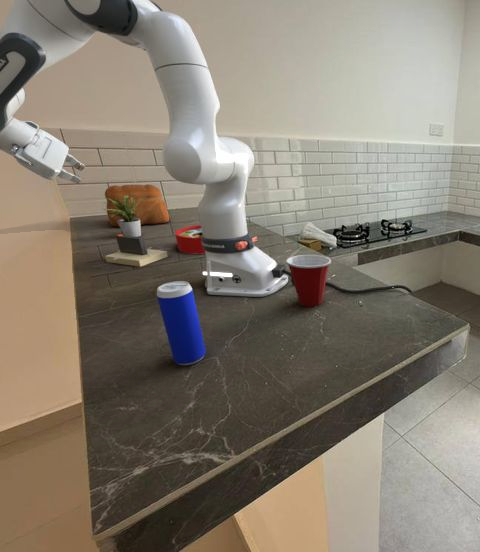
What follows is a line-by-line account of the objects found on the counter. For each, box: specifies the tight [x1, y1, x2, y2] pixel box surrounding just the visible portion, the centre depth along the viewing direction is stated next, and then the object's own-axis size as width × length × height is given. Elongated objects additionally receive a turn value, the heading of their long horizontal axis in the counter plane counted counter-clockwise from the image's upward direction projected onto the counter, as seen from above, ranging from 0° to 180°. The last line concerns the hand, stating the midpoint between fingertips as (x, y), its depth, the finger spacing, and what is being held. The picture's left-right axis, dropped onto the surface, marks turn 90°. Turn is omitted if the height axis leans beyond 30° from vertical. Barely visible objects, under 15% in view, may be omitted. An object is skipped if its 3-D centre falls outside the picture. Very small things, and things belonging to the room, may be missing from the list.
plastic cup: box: [286, 254, 332, 308], centre depth 82 cm, size 11×11×12 cm
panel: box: [104, 246, 169, 267], centre depth 106 cm, size 14×13×2 cm
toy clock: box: [174, 224, 206, 255], centre depth 122 cm, size 20×6×20 cm
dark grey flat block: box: [115, 233, 148, 255], centre depth 105 cm, size 9×2×6 cm, turn 78°
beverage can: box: [156, 280, 207, 366], centre depth 58 cm, size 5×5×15 cm
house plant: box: [102, 195, 146, 237], centre depth 127 cm, size 14×14×16 cm
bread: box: [104, 183, 170, 228], centre depth 145 cm, size 18×22×17 cm
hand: (81, 174), depth 95 cm, fingers open, 8 cm apart
